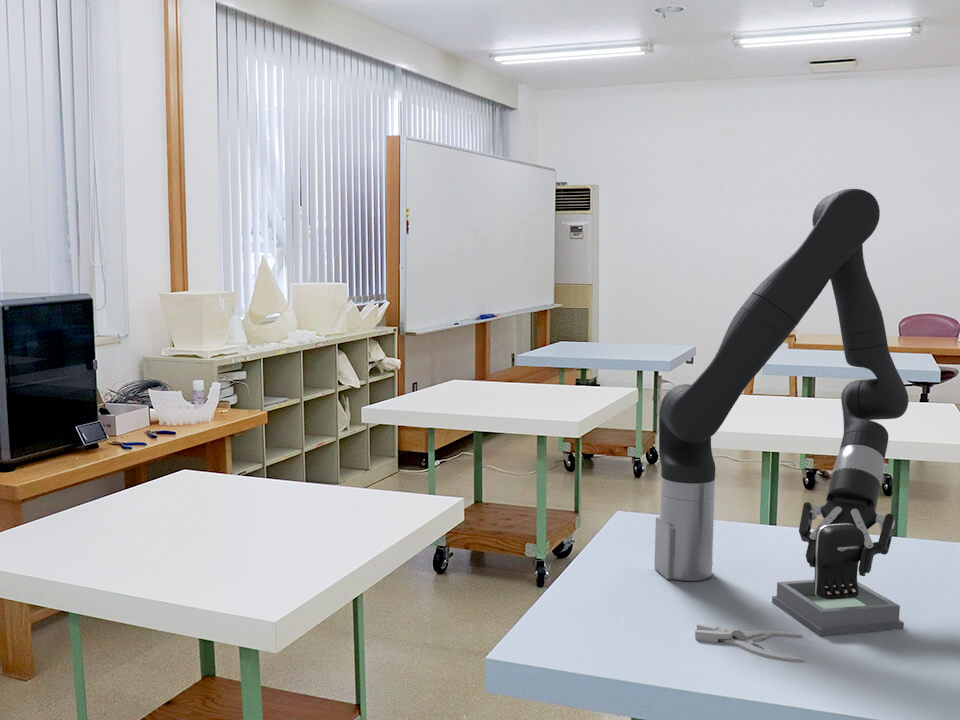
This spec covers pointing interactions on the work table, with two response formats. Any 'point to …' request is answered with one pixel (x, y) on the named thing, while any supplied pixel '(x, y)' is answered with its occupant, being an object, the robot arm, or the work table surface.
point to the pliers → (727, 636)
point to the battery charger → (837, 560)
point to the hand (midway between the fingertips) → (836, 568)
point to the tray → (837, 609)
